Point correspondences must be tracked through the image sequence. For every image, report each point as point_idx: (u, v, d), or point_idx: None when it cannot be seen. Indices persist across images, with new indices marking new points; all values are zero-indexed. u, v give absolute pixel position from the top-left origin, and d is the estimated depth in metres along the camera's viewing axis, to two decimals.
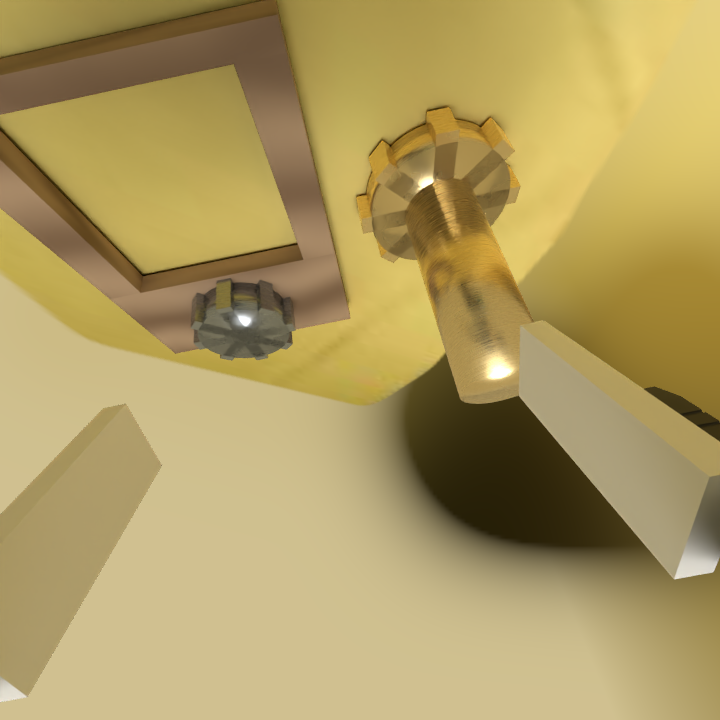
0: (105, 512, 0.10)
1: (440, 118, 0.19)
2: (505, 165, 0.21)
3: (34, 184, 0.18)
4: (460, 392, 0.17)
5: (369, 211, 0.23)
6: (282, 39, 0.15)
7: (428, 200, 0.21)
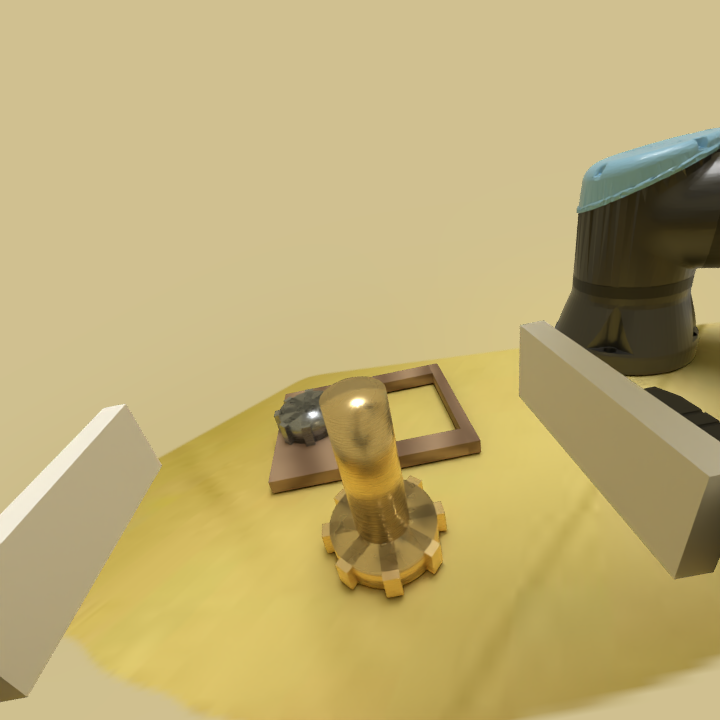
0: (105, 512, 0.10)
1: None
2: (419, 554, 0.26)
3: (408, 381, 0.48)
4: (352, 377, 0.26)
5: None
6: (472, 441, 0.35)
7: None
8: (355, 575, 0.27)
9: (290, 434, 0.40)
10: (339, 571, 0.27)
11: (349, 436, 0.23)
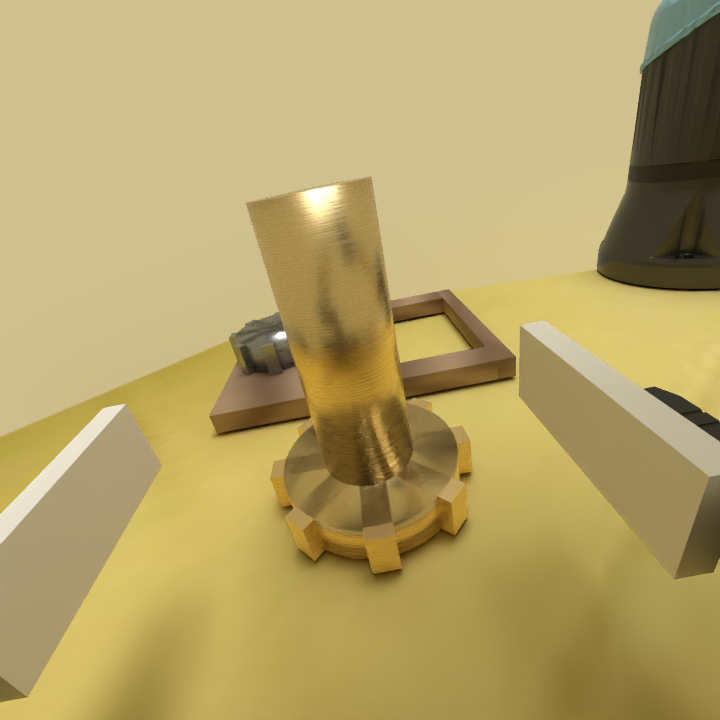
0: (105, 512, 0.10)
1: None
2: (430, 500, 0.15)
3: (411, 308, 0.37)
4: (316, 187, 0.15)
5: None
6: (504, 359, 0.24)
7: None
8: (319, 536, 0.16)
9: (248, 359, 0.29)
10: (292, 529, 0.16)
11: (298, 251, 0.12)
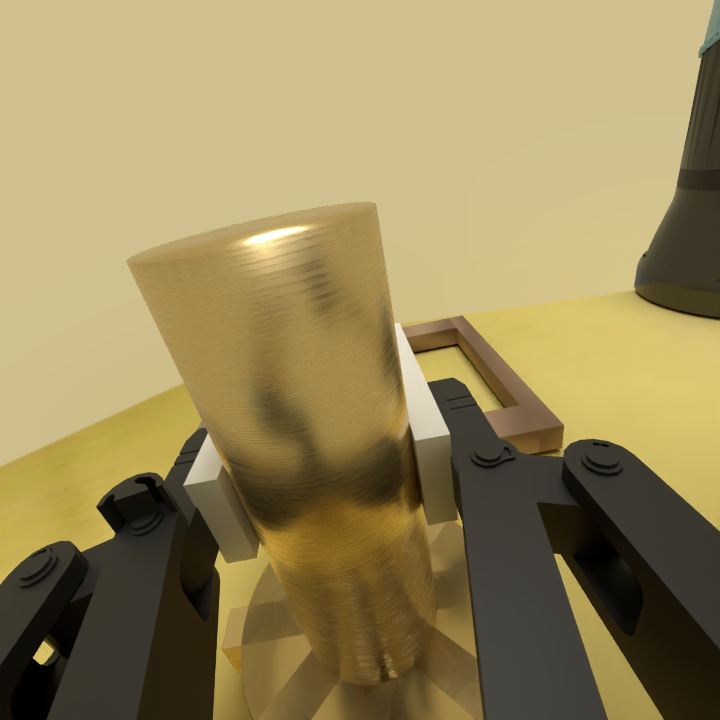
0: None
1: None
2: None
3: (418, 339, 0.31)
4: (281, 215, 0.09)
5: None
6: (548, 428, 0.18)
7: None
8: None
9: None
10: None
11: (225, 364, 0.06)
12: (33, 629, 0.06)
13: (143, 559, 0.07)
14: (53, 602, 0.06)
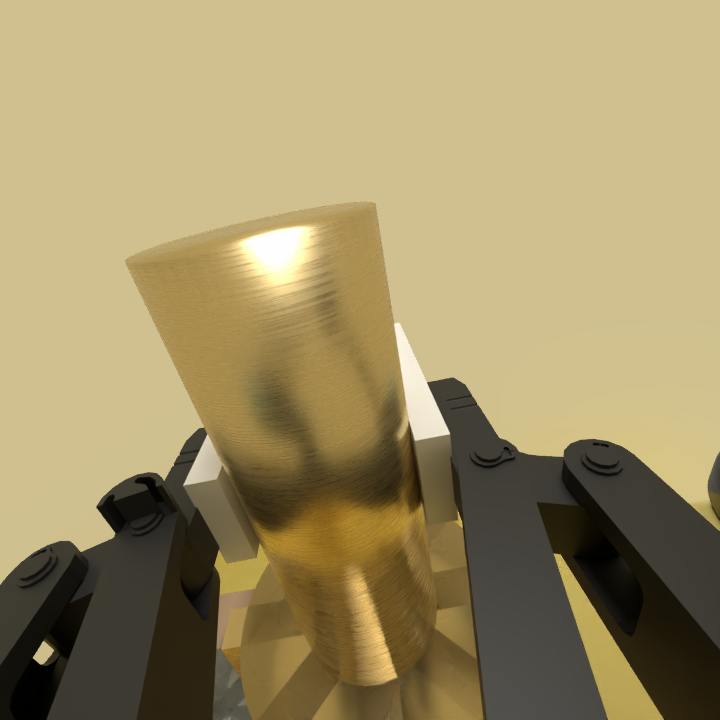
0: None
1: None
2: None
3: None
4: None
5: None
6: None
7: None
8: None
9: None
10: None
11: (224, 365, 0.06)
12: (33, 629, 0.06)
13: (143, 559, 0.07)
14: (53, 602, 0.06)
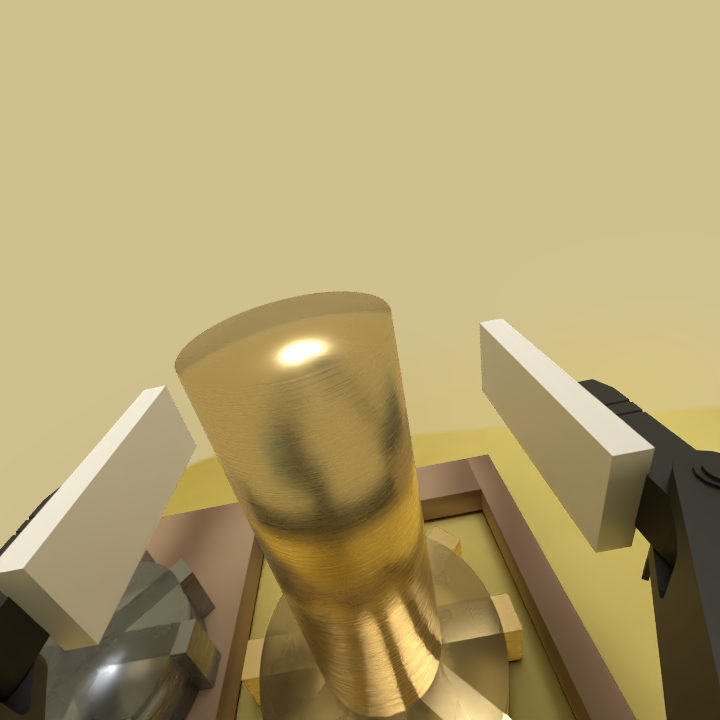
0: (152, 484, 0.11)
1: None
2: None
3: None
4: (301, 296, 0.10)
5: None
6: None
7: None
8: None
9: None
10: None
11: (263, 464, 0.06)
12: None
13: None
14: None
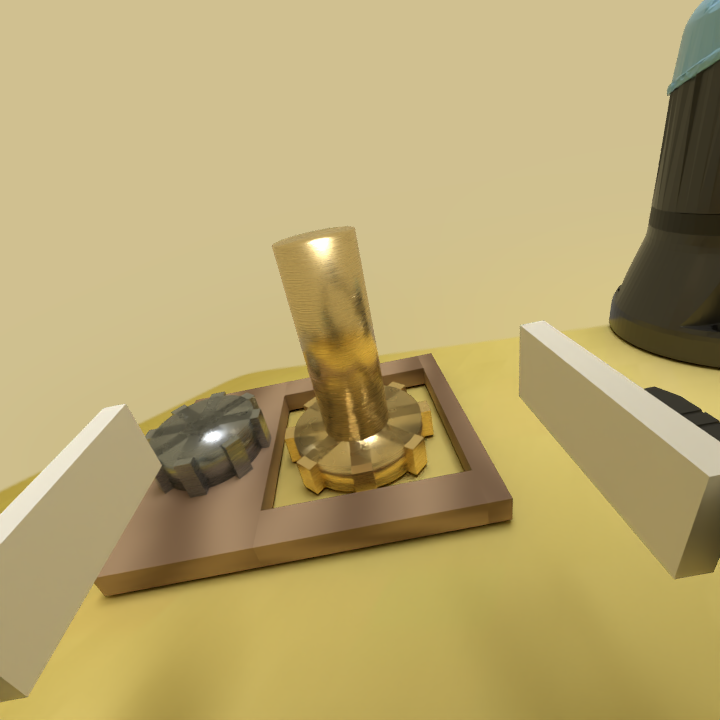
0: (105, 512, 0.10)
1: None
2: (398, 448, 0.21)
3: (384, 380, 0.30)
4: (317, 230, 0.21)
5: None
6: (496, 501, 0.18)
7: None
8: (321, 476, 0.22)
9: (163, 474, 0.22)
10: (301, 471, 0.22)
11: (307, 279, 0.18)
12: None
13: None
14: None
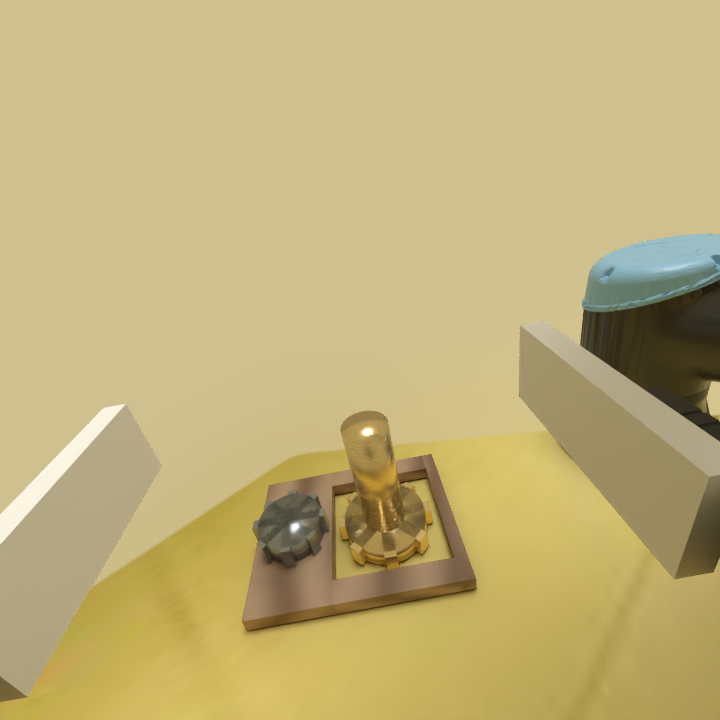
0: (105, 512, 0.10)
1: None
2: (411, 540, 0.36)
3: (399, 476, 0.45)
4: (364, 411, 0.36)
5: None
6: (466, 579, 0.32)
7: None
8: (364, 555, 0.37)
9: (269, 553, 0.37)
10: (353, 552, 0.37)
11: (362, 455, 0.32)
12: None
13: None
14: None
